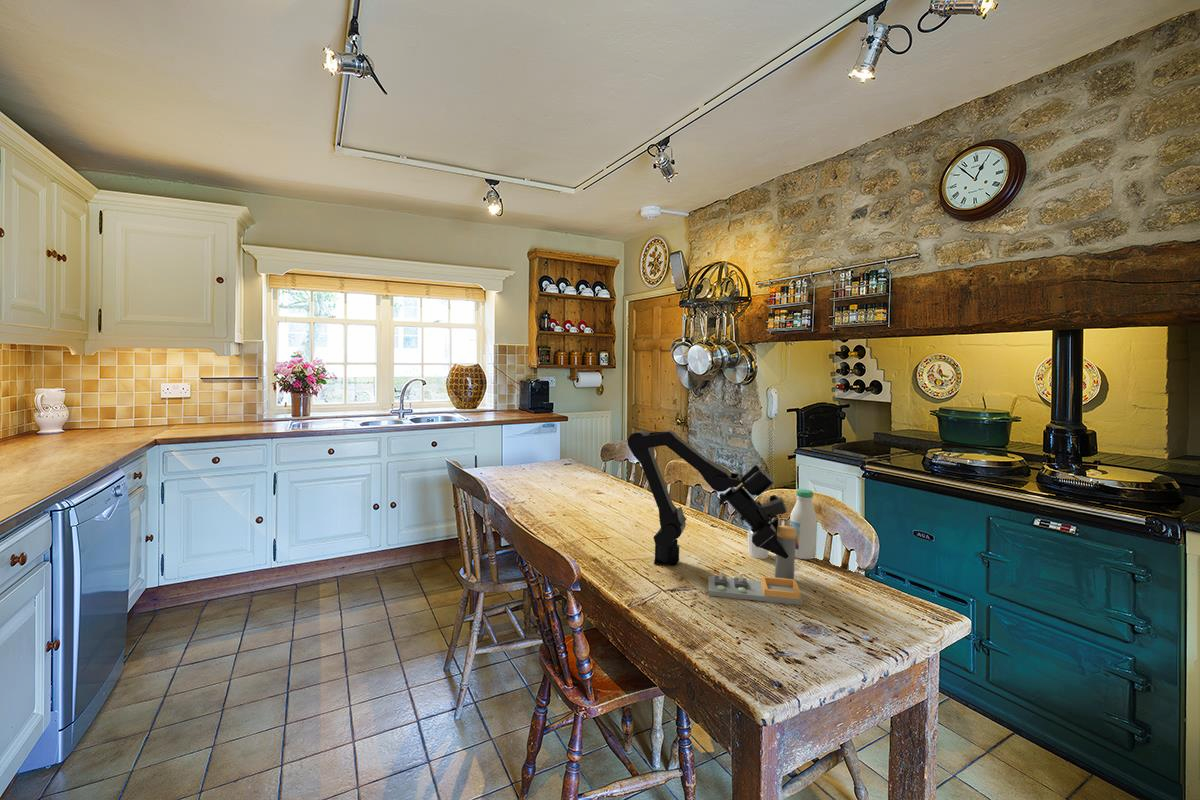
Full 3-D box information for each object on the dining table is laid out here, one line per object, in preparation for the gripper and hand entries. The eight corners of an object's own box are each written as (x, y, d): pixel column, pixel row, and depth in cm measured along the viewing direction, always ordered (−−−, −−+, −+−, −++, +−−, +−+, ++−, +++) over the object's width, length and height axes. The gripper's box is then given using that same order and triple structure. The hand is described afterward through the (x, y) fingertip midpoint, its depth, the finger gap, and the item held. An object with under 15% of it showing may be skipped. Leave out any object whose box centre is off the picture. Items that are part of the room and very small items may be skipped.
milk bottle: (814, 552, 158) (817, 488, 156) (816, 561, 150) (819, 494, 149) (788, 549, 160) (790, 486, 159) (788, 558, 153) (791, 492, 152)
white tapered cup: (771, 560, 151) (772, 537, 150) (747, 558, 152) (748, 535, 152) (768, 552, 158) (769, 529, 157) (745, 550, 159) (746, 528, 159)
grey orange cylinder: (776, 582, 136) (778, 530, 134) (773, 575, 140) (775, 525, 139) (795, 584, 135) (797, 532, 134) (792, 576, 139) (794, 526, 138)
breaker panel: (708, 595, 127) (709, 579, 127) (708, 580, 136) (708, 565, 136) (802, 605, 123) (803, 588, 123) (795, 589, 132) (796, 573, 131)
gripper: (767, 496, 129) (812, 544, 126) (770, 480, 146) (810, 523, 143) (734, 523, 132) (777, 571, 129) (740, 504, 149) (779, 546, 146)
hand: (787, 551), depth 137 cm, fingers open, 9 cm apart
